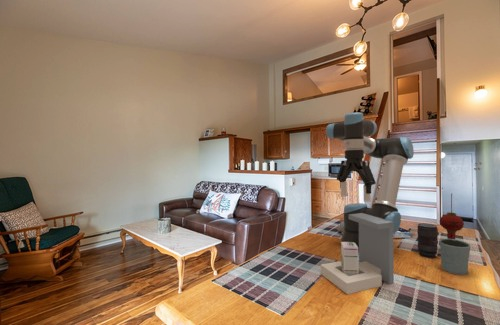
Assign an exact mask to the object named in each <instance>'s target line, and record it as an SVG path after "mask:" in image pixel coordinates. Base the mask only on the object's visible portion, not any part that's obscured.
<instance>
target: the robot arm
mask: <svg viewBox="0 0 500 325" xmlns="http://www.w3.org/2000/svg"><path fill="white" fill-rule="evenodd" d="M343 119H344V121H343V122H334V123H329V124H328V125H327V126H326V128H325V135H326V137H327V138H328V139H331V140H332V139H334V140H335V139H338V140H339V141H342V142H344V149H345V151H344V158H345V159H346V160H344V159H343V160H341V161H340V167H339V170H338V173H337V176H336V180H337V181H339V186H340V197H347V195H348V188H347V187H348V183H347V182H348V181H347V179H348V178H349V175H350V174H351V173H352V172H356V173H357V174H358V175H359V177H360V178H361V180H362V181H363V202H365V203H363V202H362V203H359V202H358V203H350V204H348V203H347V204H346V205H344V207H343V221H344V233H343V235H341V239H340V243H341V242H354V243H355V244H356V245H357V247H358V252H359V222H356V221H353V220H350V219H349V214H358V213H364V214H367V215H371V216H374V217H378V218H381V219H385V220H388V221H392V222H393V226H394V234H396V233H397V232H398V231H399V229H400V227H401V226H400V225H401V222H402V220H401V219H402V216H401V213H400V212H399V209H398V207H396V203H397V198H398V193H399V189H400V184H401V180H402V175H403V170H404V169H403V168H404V165H406V164H407V163H408V161H409V160H410V159H412V158H414V146H413V141H412V140H411V139H410V137H406V136H404V137H403V136H400V137H388V138H372V136H373V135H375V134H376V132H377V131H378V126H377V123H376V122H375V121H373V120H371V119H364V114H363V112H349V113H346V114H345V115H344V118H343ZM365 155H367V156H368V157H372V158H375V159H380V160H381V159H382V160H383V161H384V162H385V163H384V167H383V171H382V176H381V179H380V184H379V189H378V193H377V197H376V201H375V202H373V203H372V205H371V207H368V204H366V202H371V194H372V186H373V185H376V184H377V182H376V180H375V179H376V178H375V176H374V174H373V172H372V169H371V167H370V161H369V160H363V159H364V158H365V157H364V156H365Z"/></svg>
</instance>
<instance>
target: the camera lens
mask: <svg viewBox="0 0 500 325" xmlns="http://www.w3.org/2000/svg"><path fill="white" fill-rule="evenodd" d="M416 228H417V251H418V253H419V255H420V256H421V257H425V258H428V259H429V258H430V259H435V258H436V257H437V254H438V248H439V247H438V244H439V240H438V236H439V235H438V234H439V233H438V232H439V229H438V225H436V224H432V223H423V222H422V223H418V224H417V227H416Z"/></svg>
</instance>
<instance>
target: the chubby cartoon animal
mask: <svg viewBox="0 0 500 325" xmlns="http://www.w3.org/2000/svg"><path fill="white" fill-rule="evenodd" d="M337 232H338V233H341V236H343V233H344V220H341V222H340V223H338V224H337Z"/></svg>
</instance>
